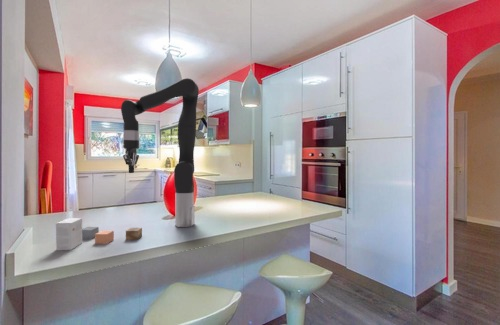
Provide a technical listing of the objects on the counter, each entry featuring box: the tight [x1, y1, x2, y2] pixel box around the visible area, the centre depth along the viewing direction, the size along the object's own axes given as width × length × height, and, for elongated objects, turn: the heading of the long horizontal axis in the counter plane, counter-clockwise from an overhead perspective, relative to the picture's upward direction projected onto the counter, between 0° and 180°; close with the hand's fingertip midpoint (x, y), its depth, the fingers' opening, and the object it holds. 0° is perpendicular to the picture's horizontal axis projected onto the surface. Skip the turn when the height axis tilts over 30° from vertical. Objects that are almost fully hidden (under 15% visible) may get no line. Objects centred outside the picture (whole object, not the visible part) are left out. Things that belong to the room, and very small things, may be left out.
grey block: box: [82, 226, 100, 240], centre depth 115 cm, size 5×5×4 cm
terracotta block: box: [94, 230, 115, 245], centre depth 109 cm, size 5×5×4 cm
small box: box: [55, 217, 83, 251], centre depth 103 cm, size 8×6×10 cm
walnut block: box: [125, 227, 143, 241], centre depth 114 cm, size 5×5×4 cm
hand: (131, 172), depth 136 cm, fingers closed
